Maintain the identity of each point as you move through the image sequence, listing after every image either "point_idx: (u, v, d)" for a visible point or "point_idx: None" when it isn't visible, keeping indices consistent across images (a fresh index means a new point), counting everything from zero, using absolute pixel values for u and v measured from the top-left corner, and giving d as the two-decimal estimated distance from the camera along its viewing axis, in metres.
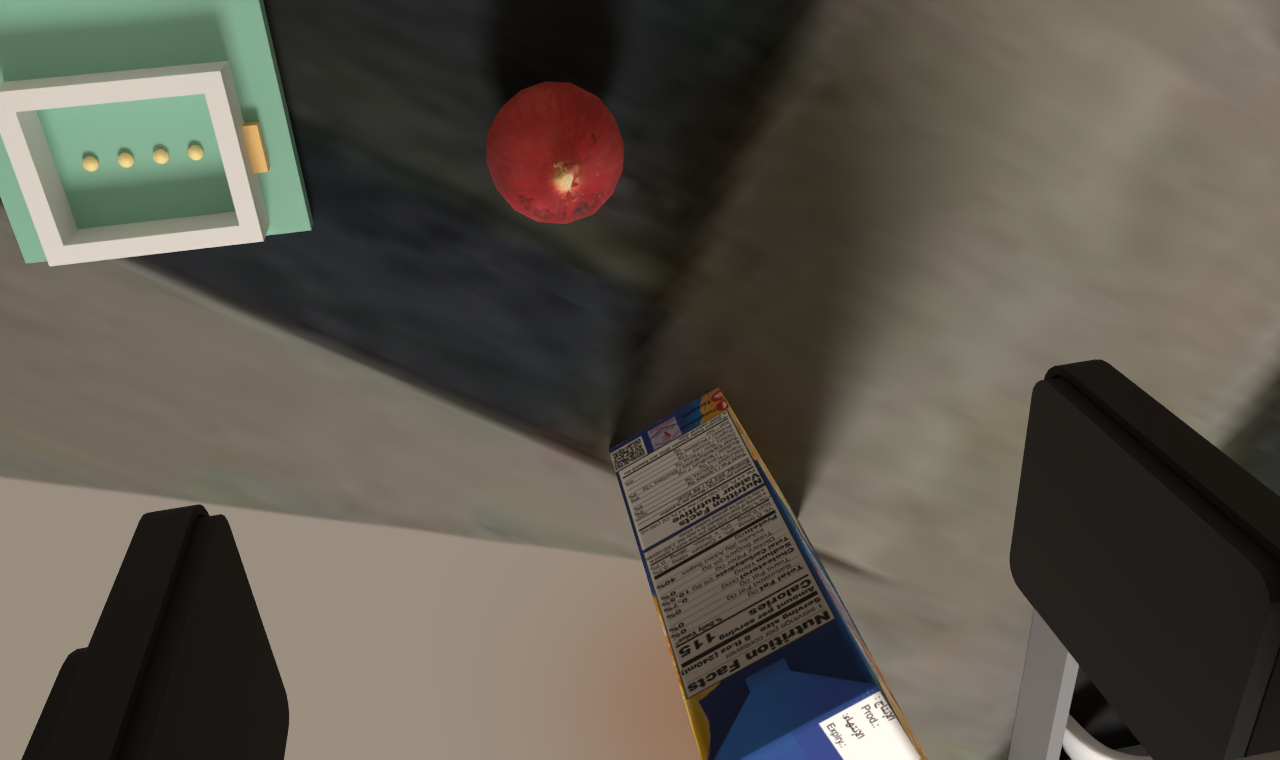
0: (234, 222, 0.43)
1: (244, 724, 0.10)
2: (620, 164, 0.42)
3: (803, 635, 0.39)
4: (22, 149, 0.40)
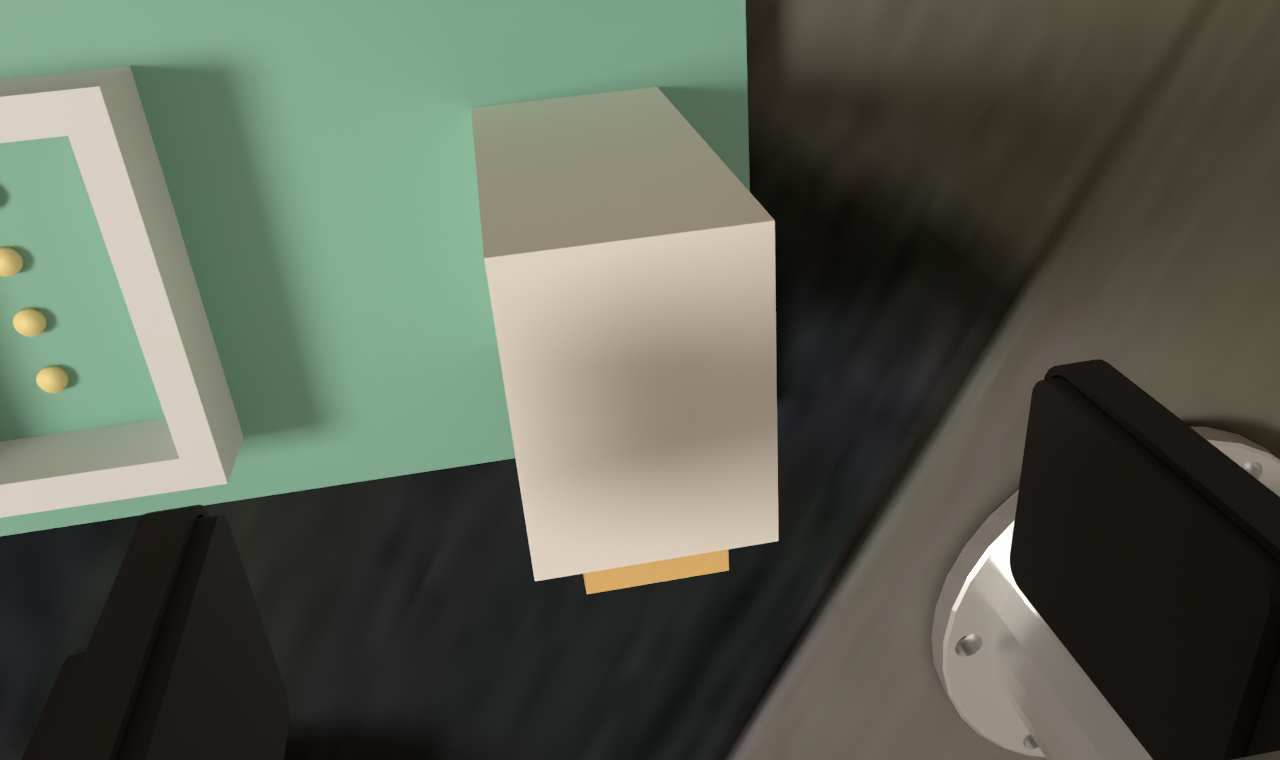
0: None
1: (244, 724, 0.10)
2: None
3: None
4: None
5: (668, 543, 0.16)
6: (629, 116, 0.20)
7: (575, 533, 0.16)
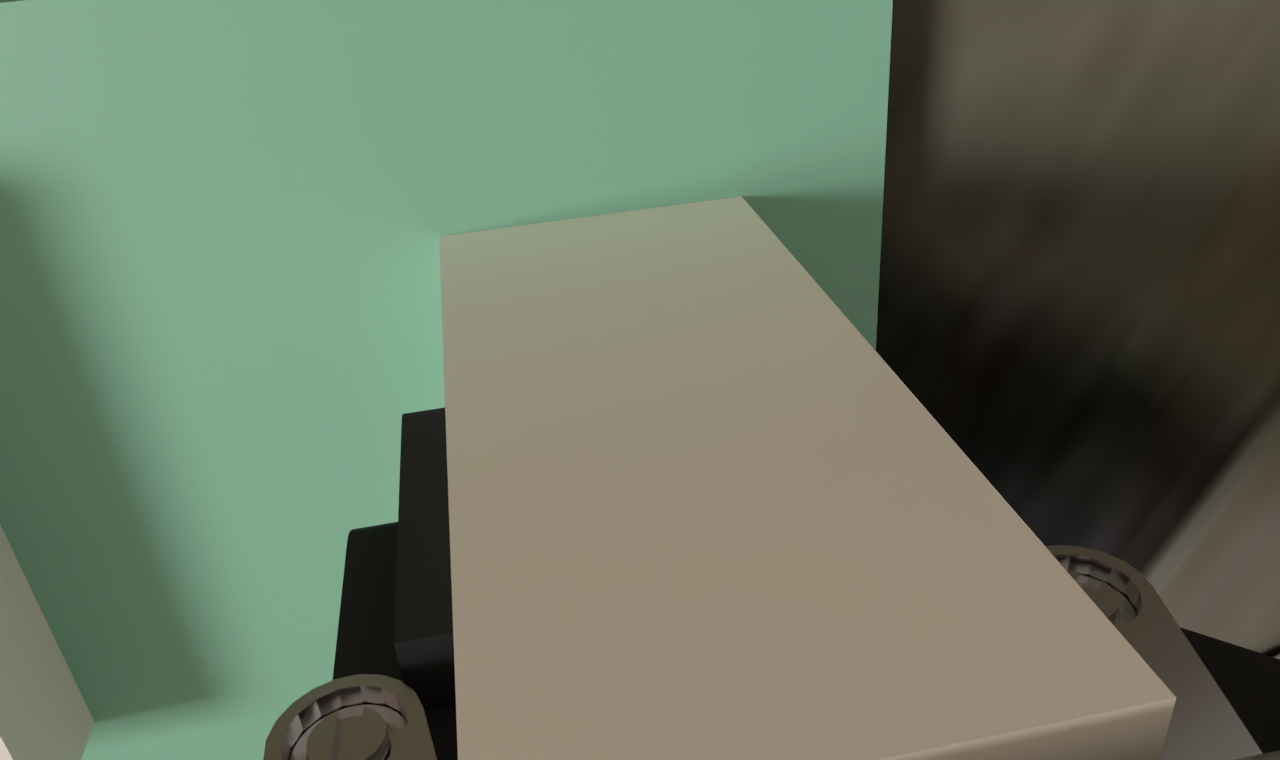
0: None
1: None
2: None
3: None
4: None
5: None
6: (713, 271, 0.11)
7: None
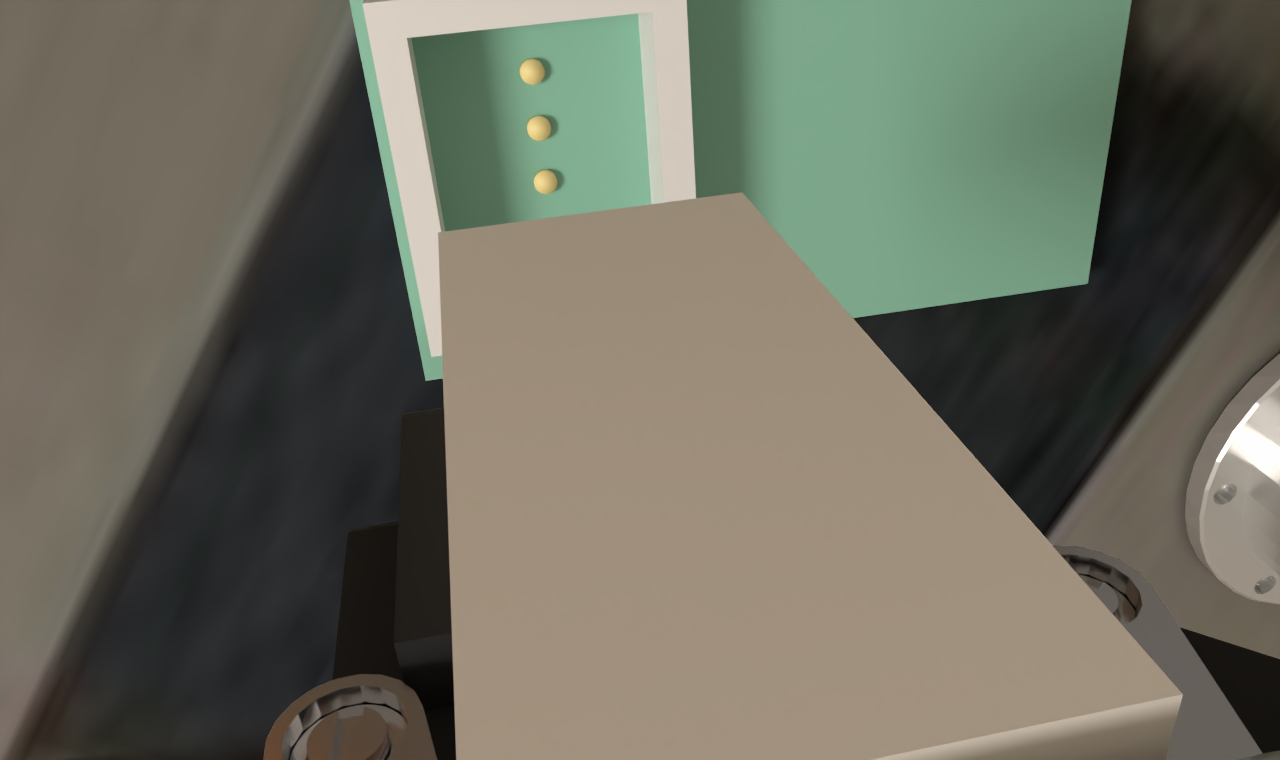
0: None
1: None
2: None
3: None
4: (588, 8, 0.23)
5: None
6: (714, 267, 0.11)
7: None
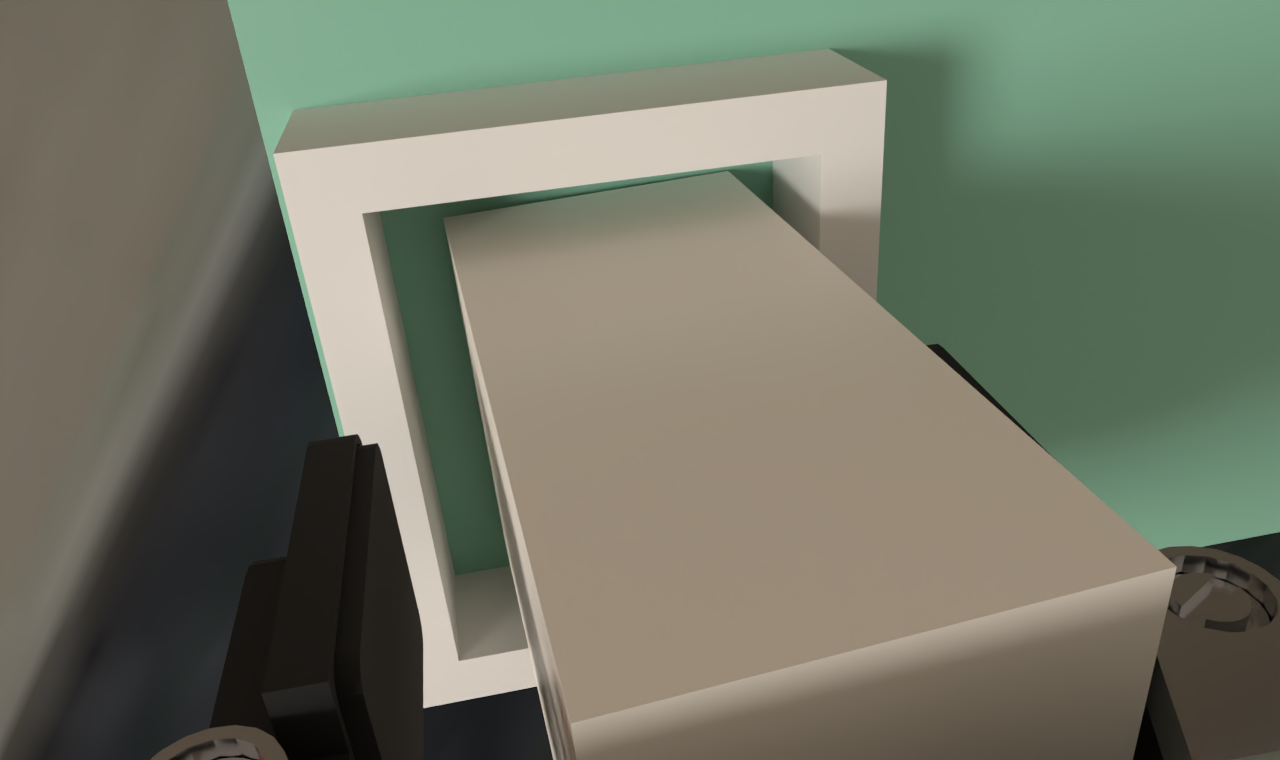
0: (454, 626, 0.15)
1: (402, 632, 0.11)
2: None
3: None
4: (705, 151, 0.12)
5: None
6: (713, 238, 0.12)
7: None
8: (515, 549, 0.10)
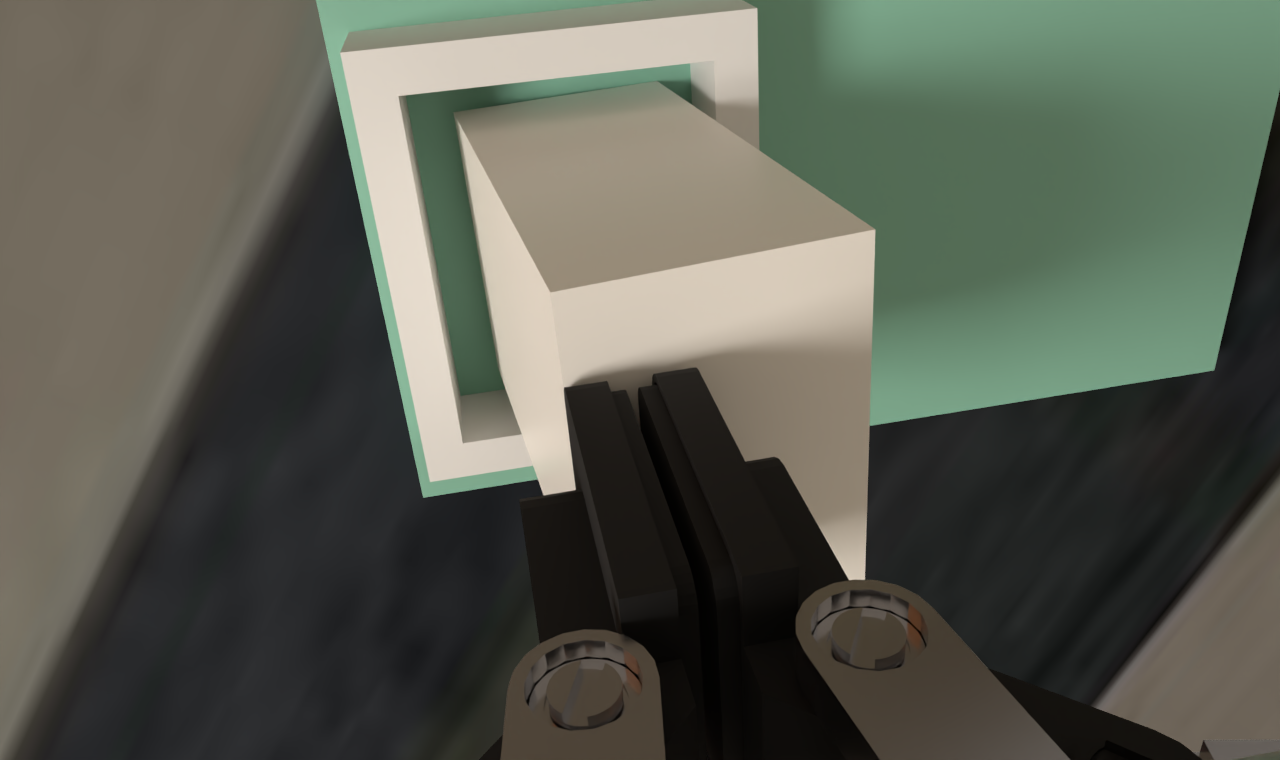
0: (460, 420, 0.21)
1: None
2: None
3: None
4: (632, 56, 0.18)
5: None
6: (642, 115, 0.18)
7: None
8: (511, 306, 0.16)
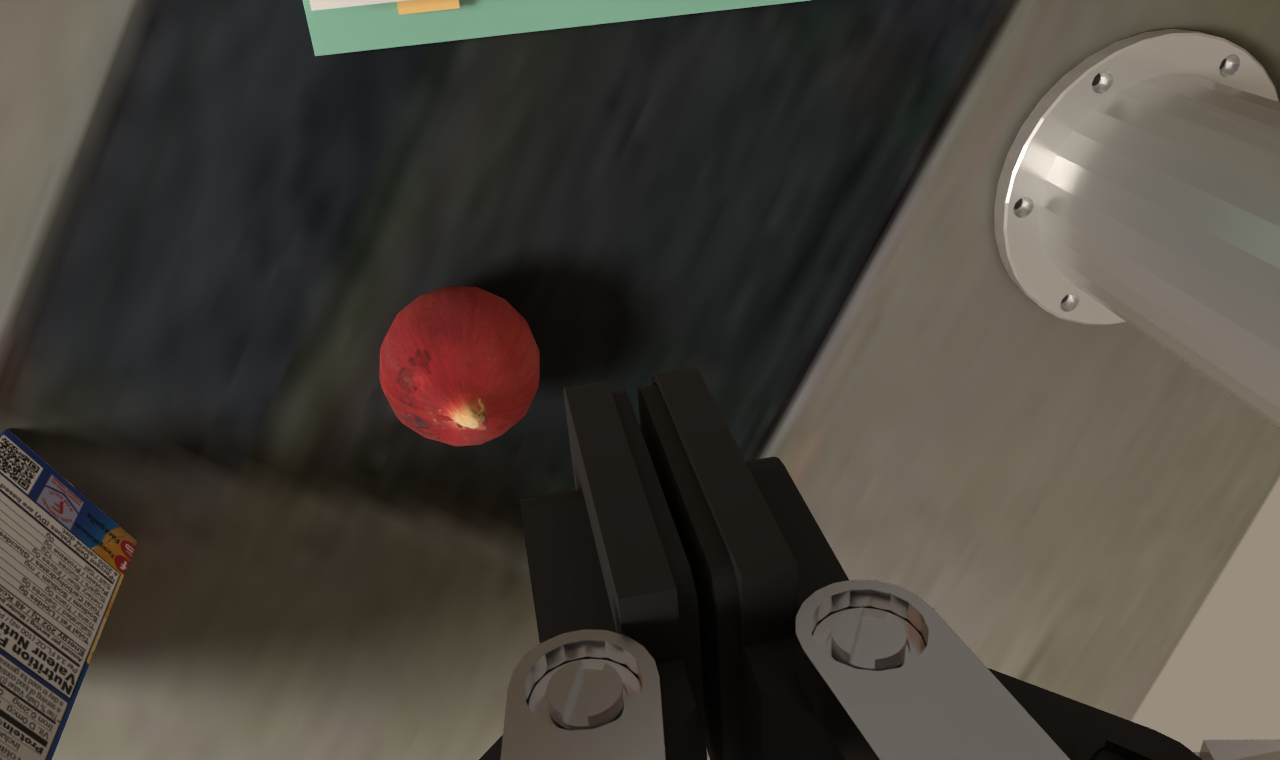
0: None
1: None
2: None
3: None
4: None
5: None
6: None
7: None
8: None
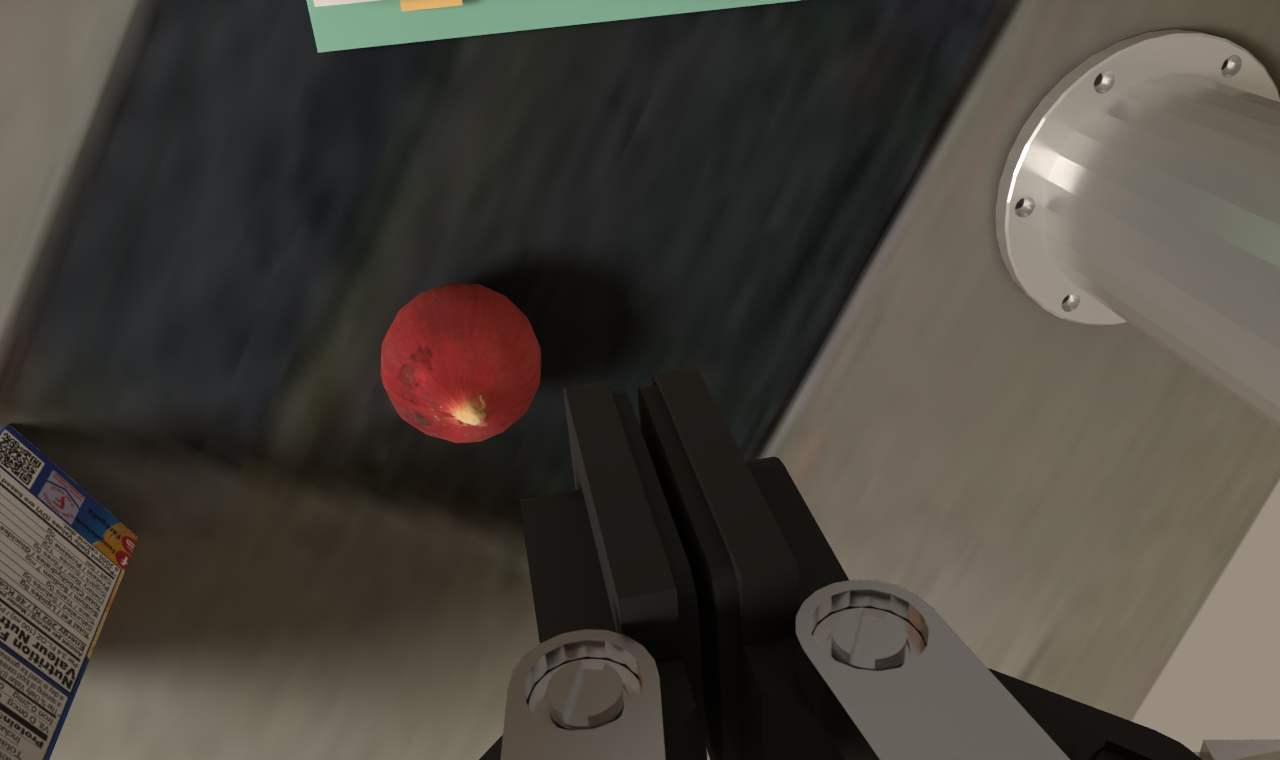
0: None
1: None
2: None
3: None
4: None
5: None
6: None
7: None
8: None
